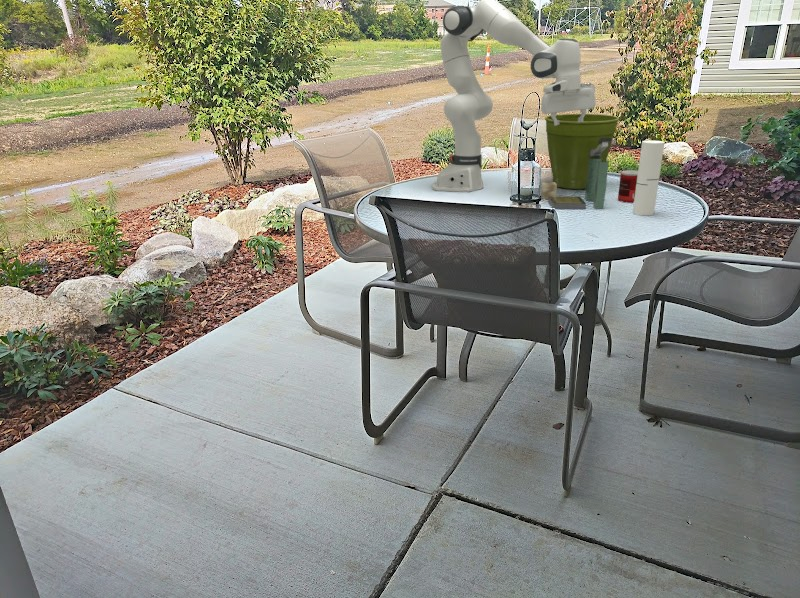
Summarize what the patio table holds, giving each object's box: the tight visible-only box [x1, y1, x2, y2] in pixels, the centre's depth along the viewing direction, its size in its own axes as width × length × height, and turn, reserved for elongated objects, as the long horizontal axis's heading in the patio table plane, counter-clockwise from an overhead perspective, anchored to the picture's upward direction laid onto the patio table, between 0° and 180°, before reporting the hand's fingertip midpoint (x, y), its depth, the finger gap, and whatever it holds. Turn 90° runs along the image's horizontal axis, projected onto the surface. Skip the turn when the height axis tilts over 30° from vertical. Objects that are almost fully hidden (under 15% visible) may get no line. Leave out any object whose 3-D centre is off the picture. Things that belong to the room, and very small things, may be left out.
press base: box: [547, 157, 609, 210], centre depth 223 cm, size 19×17×17 cm
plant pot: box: [544, 113, 620, 190], centre depth 251 cm, size 30×30×29 cm
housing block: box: [540, 181, 558, 201], centre depth 235 cm, size 5×5×6 cm
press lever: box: [589, 138, 611, 157], centre depth 218 cm, size 16×4×4 cm, turn 176°
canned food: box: [617, 169, 638, 203], centre depth 228 cm, size 8×8×11 cm
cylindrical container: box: [632, 140, 665, 216], centre depth 206 cm, size 7×7×25 cm
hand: (568, 123), depth 223 cm, fingers open, 8 cm apart
